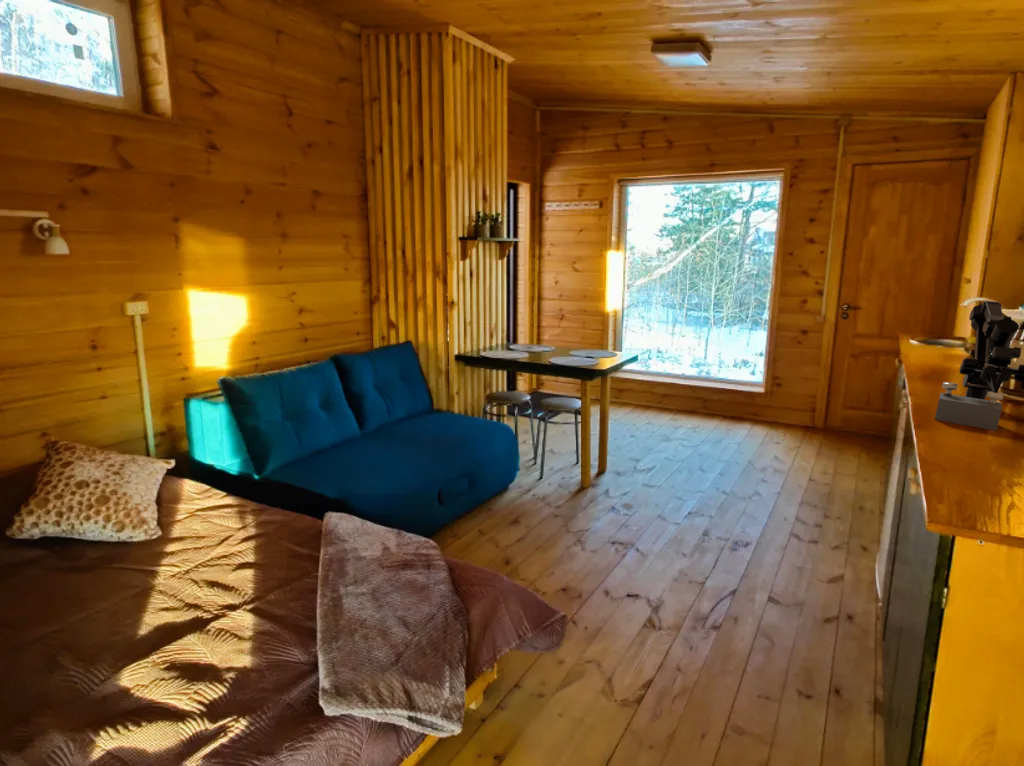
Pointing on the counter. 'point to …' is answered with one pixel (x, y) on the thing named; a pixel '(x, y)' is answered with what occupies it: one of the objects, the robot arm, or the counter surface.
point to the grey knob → (949, 387)
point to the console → (968, 411)
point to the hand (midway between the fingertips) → (995, 391)
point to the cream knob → (994, 396)
